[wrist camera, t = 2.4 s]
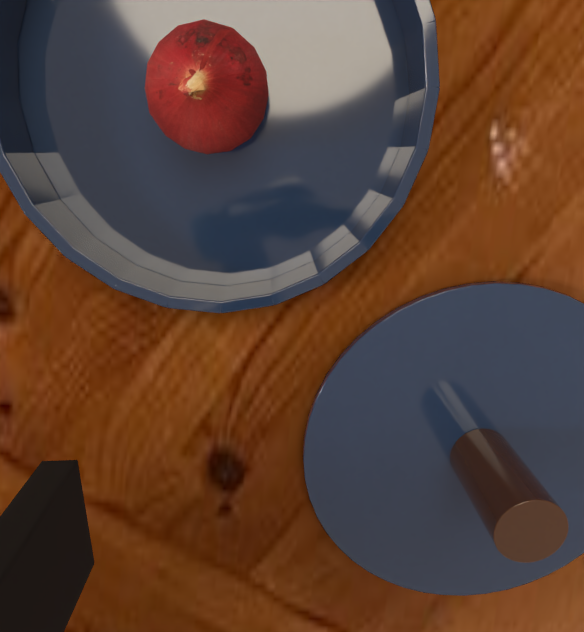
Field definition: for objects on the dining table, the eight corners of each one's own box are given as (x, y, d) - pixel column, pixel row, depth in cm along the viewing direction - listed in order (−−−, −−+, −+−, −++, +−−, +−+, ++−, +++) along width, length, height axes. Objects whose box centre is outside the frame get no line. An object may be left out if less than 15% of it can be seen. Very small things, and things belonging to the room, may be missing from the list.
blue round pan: (16, 273, 32) (-18, 289, 28) (0, -182, 25) (-47, -239, 22) (382, 311, 33) (395, 331, 30) (455, -111, 27) (484, -153, 23)
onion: (172, 25, 28) (133, -22, 20) (279, 53, 29) (280, 18, 21) (155, 139, 30) (113, 135, 22) (256, 163, 30) (249, 168, 23)
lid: (284, 571, 39) (286, 685, 31) (327, 259, 32) (344, 296, 24) (589, 593, 41) (670, 707, 32) (691, 299, 34) (827, 347, 25)
